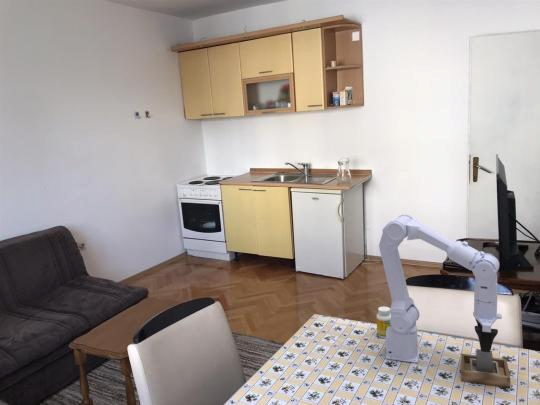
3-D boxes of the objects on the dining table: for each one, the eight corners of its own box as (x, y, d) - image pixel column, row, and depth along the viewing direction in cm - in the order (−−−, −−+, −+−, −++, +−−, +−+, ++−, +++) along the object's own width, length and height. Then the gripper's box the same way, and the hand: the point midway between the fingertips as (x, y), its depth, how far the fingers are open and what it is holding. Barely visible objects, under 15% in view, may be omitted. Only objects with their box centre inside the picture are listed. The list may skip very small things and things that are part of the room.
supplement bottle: (384, 329, 157) (383, 304, 156) (396, 335, 153) (395, 308, 151) (373, 334, 154) (372, 308, 153) (385, 340, 150) (384, 313, 148)
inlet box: (461, 381, 125) (461, 371, 124) (461, 362, 134) (461, 353, 133) (510, 388, 120) (510, 378, 119) (506, 368, 129) (506, 359, 128)
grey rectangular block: (476, 375, 126) (476, 355, 125) (475, 368, 129) (476, 348, 128) (492, 377, 124) (492, 357, 123) (491, 370, 128) (491, 350, 127)
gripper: (504, 311, 115) (503, 359, 117) (499, 290, 128) (498, 334, 130) (474, 308, 117) (473, 355, 120) (472, 288, 130) (471, 331, 133)
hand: (484, 344), depth 125 cm, fingers open, 7 cm apart
